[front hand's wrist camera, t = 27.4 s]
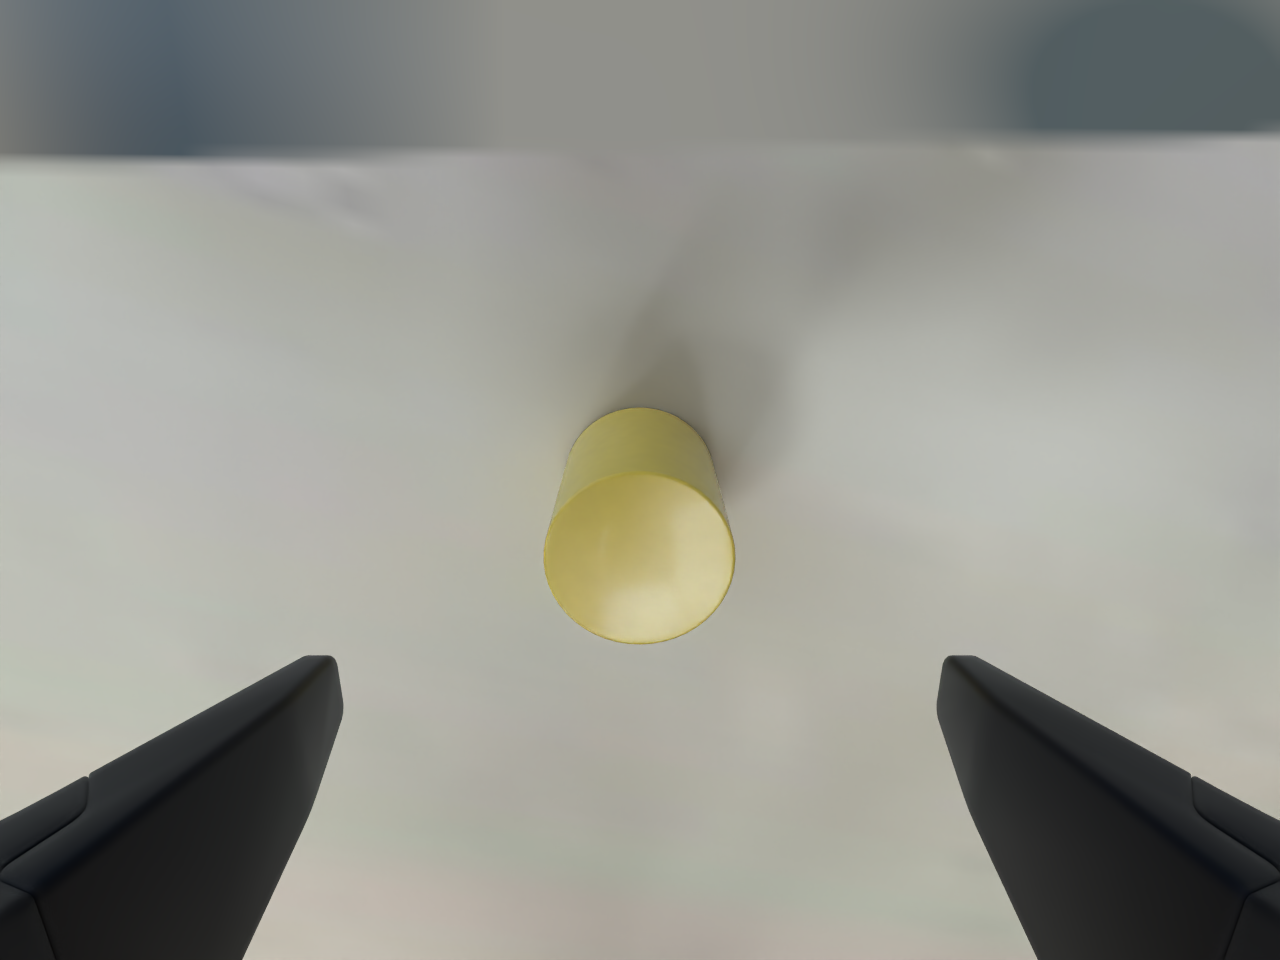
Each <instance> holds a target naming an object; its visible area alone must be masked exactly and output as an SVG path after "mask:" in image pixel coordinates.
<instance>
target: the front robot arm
mask: <svg viewBox="0 0 1280 960" xmlns="http://www.w3.org/2000/svg"><path fill="white" fill-rule="evenodd" d="M342 715H343V698H342V692H341V685H340V679H339V672H338V666H337V663H336V660H335V659H334V658H333V657H332V656H328V655H308V656H304V657H302V658H300V659H298V660H296V661H294V662H293V663H291V664H289V665H287V666H285V667H284V668H282V669H280V670H278V671H276V672H274V673H273V674H271V675H269V676H267V677H265V678H263V679H262V680H260V681H258V682H256V683H254V684H252V685H251V686H249V687H247V688H245V689H243V690H241V691H240V692H238V693H236V694H234V695H232V696H230V697H229V698H227V699H225V700H223V701H221V702H219V703H218V704H216V705H214V706H212V707H210V708H209V709H207V710H205V711H203V712H201V713H199V714H198V715H196V716H194V717H192V718H190V719H188V720H187V721H185V722H183V723H181V724H179V725H177V726H176V727H174V728H172V729H170V730H168V731H166V732H165V733H163V734H161V735H159V736H157V737H155V738H154V739H152V740H150V741H148V742H146V743H144V744H143V745H141V746H139V747H137V748H135V749H134V750H132V751H130V752H128V753H126V754H124V755H123V756H121V757H119V758H117V759H115V760H113V761H112V762H110V763H108V764H106V765H104V766H102V767H101V768H99V769H97V770H95V771H93V772H92V773H90V775H89V778H88V777H86V776H84V777H82V778H80V779H78V780H76V781H75V782H73V783H71V784H69V785H67V786H66V787H64V788H62V789H60V790H58V791H56V792H55V793H53V794H51V795H49V796H47V797H45V798H43V799H41V800H39V801H38V802H36V803H34V804H32V805H30V806H28V807H26V808H24V809H22V810H21V811H19V812H17V813H15V814H13V815H11V816H9V817H7V818H5V819H3V820H1V821H0V960H242V959H243V957H244V955H245V952H246V950H247V948H248V946H249V944H250V942H251V940H252V937H253V935H254V933H255V931H256V929H257V927H258V924H259V922H260V920H261V918H262V916H263V914H264V912H265V909H266V907H267V905H268V903H269V901H270V899H271V896H272V894H273V892H274V890H275V888H276V886H277V884H278V881H279V879H280V877H281V875H282V873H283V871H284V869H285V866H286V864H287V862H288V860H289V858H290V856H291V853H292V851H293V849H294V847H295V845H296V843H297V841H298V838H299V836H300V834H301V832H302V830H303V828H304V825H305V823H306V821H307V818H308V816H309V814H310V812H311V809H312V806H313V804H314V801H315V798H316V795H317V792H318V789H319V786H320V783H321V780H322V777H323V774H324V771H325V768H326V765H327V762H328V759H329V756H330V753H331V750H332V747H333V744H334V741H335V738H336V735H337V732H338V729H339V726H340V723H341V720H342ZM937 715H938V720H939V723H940V726H941V729H942V732H943V735H944V738H945V741H946V744H947V747H948V750H949V753H950V756H951V759H952V762H953V765H954V768H955V771H956V774H957V777H958V780H959V783H960V786H961V789H962V792H963V795H964V798H965V801H966V804H967V806H968V809H969V812H970V814H971V816H972V818H973V821H974V823H975V825H976V828H977V830H978V832H979V834H980V836H981V838H982V841H983V843H984V845H985V847H986V849H987V851H988V853H989V856H990V858H991V860H992V862H993V864H994V866H995V869H996V871H997V873H998V875H999V877H1000V879H1001V881H1002V884H1003V886H1004V888H1005V890H1006V892H1007V894H1008V896H1009V899H1010V901H1011V903H1012V905H1013V907H1014V909H1015V912H1016V914H1017V916H1018V918H1019V920H1020V922H1021V924H1022V927H1023V929H1024V931H1025V933H1026V935H1027V937H1028V940H1029V942H1030V944H1031V946H1032V948H1033V950H1034V952H1035V955H1036V957H1037V959H1038V960H1280V821H1279V820H1277V819H1275V818H1273V817H1271V816H1269V815H1267V814H1265V813H1263V812H1261V811H1259V810H1258V809H1256V808H1254V807H1252V806H1250V805H1248V804H1246V803H1244V802H1242V801H1241V800H1239V799H1237V798H1235V797H1233V796H1231V795H1229V794H1227V793H1225V792H1224V791H1222V790H1220V789H1218V788H1216V787H1214V786H1213V785H1211V784H1209V783H1207V782H1205V781H1204V780H1202V779H1200V778H1198V777H1196V776H1194V777H1192V778H1191V775H1190V773H1189V772H1187V771H1185V770H1183V769H1181V768H1179V767H1178V766H1176V765H1174V764H1172V763H1170V762H1168V761H1167V760H1165V759H1163V758H1161V757H1159V756H1158V755H1156V754H1154V753H1152V752H1150V751H1148V750H1147V749H1145V748H1143V747H1141V746H1139V745H1137V744H1136V743H1134V742H1132V741H1130V740H1128V739H1126V738H1125V737H1123V736H1121V735H1119V734H1117V733H1115V732H1114V731H1112V730H1110V729H1108V728H1106V727H1104V726H1103V725H1101V724H1099V723H1097V722H1095V721H1093V720H1092V719H1090V718H1088V717H1086V716H1084V715H1082V714H1081V713H1079V712H1077V711H1075V710H1073V709H1071V708H1070V707H1068V706H1066V705H1064V704H1062V703H1060V702H1059V701H1057V700H1055V699H1053V698H1051V697H1050V696H1048V695H1046V694H1044V693H1042V692H1040V691H1039V690H1037V689H1035V688H1033V687H1031V686H1029V685H1028V684H1026V683H1024V682H1022V681H1020V680H1018V679H1017V678H1015V677H1013V676H1011V675H1009V674H1007V673H1006V672H1004V671H1002V670H1000V669H998V668H996V667H995V666H993V665H991V664H989V663H987V662H986V661H984V660H982V659H980V658H978V657H976V656H972V655H952V656H948V657H947V658H946V659H945V660H944V663H943V666H942V672H941V679H940V685H939V692H938V698H937Z"/></svg>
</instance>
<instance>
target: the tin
mask: <svg viewBox="0 0 1280 960" xmlns="http://www.w3.org/2000/svg"><path fill="white" fill-rule="evenodd" d="M544 568H545V574H546V578H547V581H548V585H549V587H550V589H551V591H552V594H553V596H554V597H555V599H556V600H557V602H558V604H559V605H560V606H561V607H562V609H563V610H564V611H565V612H566V614H567V615H569V616H570V617H571V618H572V619H573V620H574V621H575V622H576V623H578V624H579V625H580V626H582V627H583V628H584V629H586V630H588V631H590V632H592V633H593V634H595V635H598V636H600V637H603V638H605V639H608V640H612V641H616V642H621V643H627V644H653V643H658V642H664V641H667V640H670V639H674V638H677V637H679V636H681V635H683V634H686V633H688V632H689V631H691V630H693V629H694V628H696V627H697V626H699V625H700V624H701V623H703V622H704V621H705V620H706V619H707V618H708V617H709V616H710V615H711V614H712V613H713V612H714V611H715V610H716V609H717V607H718V606H719V605H720V604H721V602H722V600H723V599H724V597H725V595H726V594H727V592H728V589H729V587H730V584H731V582H732V578H733V574H734V568H735V546H734V541H733V536H732V532H731V529H730V525H729V521H728V517H727V514H726V510H725V506H724V502H723V499H722V495H721V491H720V488H719V484H718V480H717V476H716V473H715V469H714V465H713V462H712V459H711V456H710V453H709V451H708V449H707V447H706V445H705V443H704V441H703V440H702V439H701V437H700V436H699V435H698V433H697V432H696V431H695V430H694V429H693V428H692V427H690V426H689V425H688V424H687V423H686V422H684V421H683V420H681V419H679V418H678V417H676V416H674V415H672V414H669V413H667V412H664V411H661V410H656V409H651V408H628V409H623V410H618V411H615V412H612V413H610V414H607V415H605V416H603V417H601V418H600V419H598V420H597V421H595V422H594V423H592V424H591V425H590V426H589V427H588V428H586V429H585V430H584V431H583V433H582V434H581V435H580V436H579V437H578V439H577V440H576V442H575V443H574V445H573V447H572V449H571V451H570V453H569V456H568V459H567V462H566V466H565V470H564V473H563V477H562V481H561V484H560V488H559V492H558V495H557V499H556V503H555V507H554V510H553V514H552V518H551V521H550V525H549V529H548V532H547V536H546V540H545V546H544Z"/></svg>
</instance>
